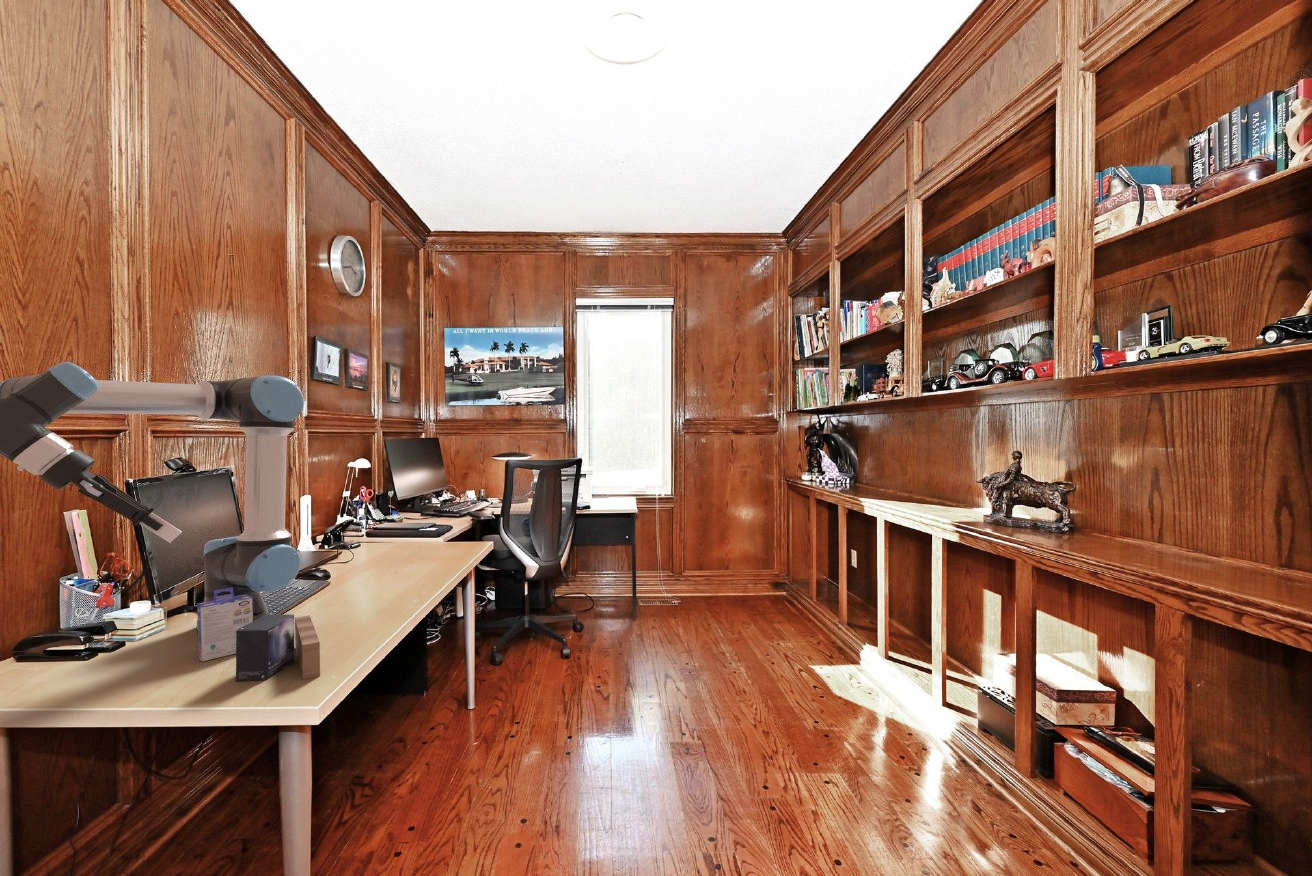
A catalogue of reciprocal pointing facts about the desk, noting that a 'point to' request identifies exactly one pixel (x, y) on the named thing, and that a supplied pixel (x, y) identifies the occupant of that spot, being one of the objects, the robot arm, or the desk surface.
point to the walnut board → (307, 647)
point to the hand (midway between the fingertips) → (176, 537)
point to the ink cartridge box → (222, 623)
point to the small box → (264, 647)
